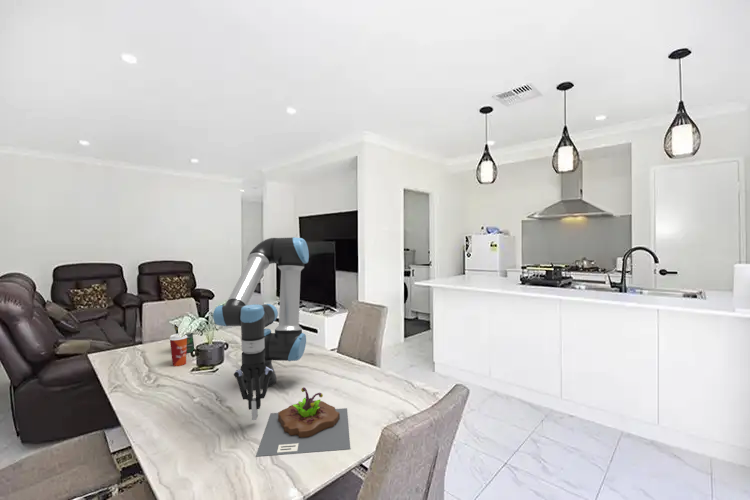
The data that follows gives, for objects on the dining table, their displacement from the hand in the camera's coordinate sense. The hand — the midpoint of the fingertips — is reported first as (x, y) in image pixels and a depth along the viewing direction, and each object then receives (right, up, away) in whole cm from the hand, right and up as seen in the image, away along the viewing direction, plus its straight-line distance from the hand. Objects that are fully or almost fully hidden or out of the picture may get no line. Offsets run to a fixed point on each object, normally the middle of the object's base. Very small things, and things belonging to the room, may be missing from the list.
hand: (254, 417), depth 126 cm
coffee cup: (-58, 0, +60) cm, 84 cm away
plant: (+18, -2, +2) cm, 18 cm away
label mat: (+19, -2, -4) cm, 19 cm away
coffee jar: (-65, 0, +79) cm, 103 cm away
